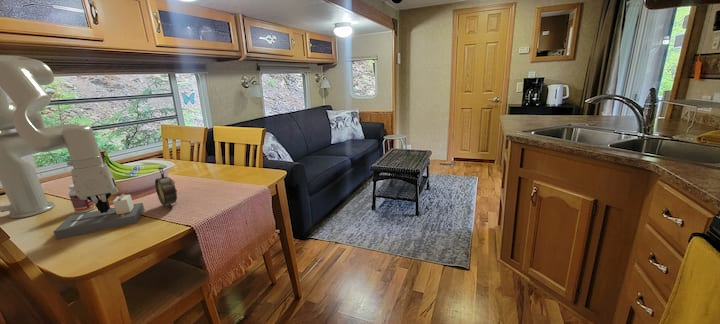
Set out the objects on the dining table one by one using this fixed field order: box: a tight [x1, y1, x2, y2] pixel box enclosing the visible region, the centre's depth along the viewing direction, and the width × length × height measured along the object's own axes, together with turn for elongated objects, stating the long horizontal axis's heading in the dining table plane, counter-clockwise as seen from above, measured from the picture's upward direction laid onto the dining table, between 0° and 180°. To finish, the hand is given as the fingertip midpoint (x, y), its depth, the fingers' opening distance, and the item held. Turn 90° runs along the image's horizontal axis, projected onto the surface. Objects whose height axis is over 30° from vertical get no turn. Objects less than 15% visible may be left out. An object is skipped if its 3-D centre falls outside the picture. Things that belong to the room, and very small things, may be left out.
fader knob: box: [112, 193, 134, 215], centre depth 107 cm, size 4×5×6 cm
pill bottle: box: [68, 183, 97, 214], centre depth 116 cm, size 6×6×11 cm
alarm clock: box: [154, 166, 178, 210], centre depth 115 cm, size 11×5×16 cm, turn 47°
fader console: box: [52, 202, 145, 240], centre depth 105 cm, size 22×12×3 cm, turn 114°
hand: (105, 211), depth 105 cm, fingers closed
